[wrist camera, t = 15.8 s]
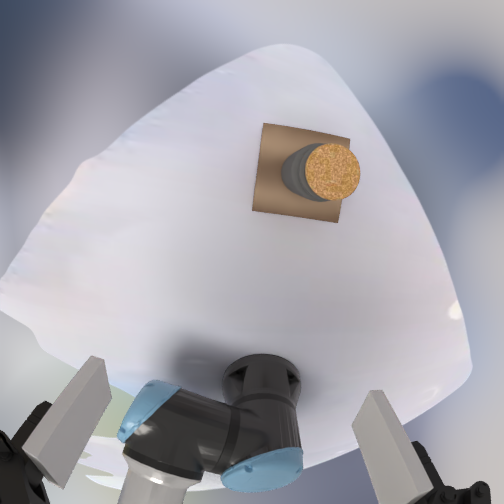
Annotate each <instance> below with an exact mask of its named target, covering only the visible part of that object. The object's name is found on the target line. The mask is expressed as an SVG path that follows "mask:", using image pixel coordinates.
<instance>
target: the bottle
mask: <svg viewBox="0 0 504 504" xmlns="http://www.w3.org/2000/svg"><path fill="white" fill-rule="evenodd" d="M281 177H282V180H283V183H284V184H285V186H286V187H287V188H288V189H289V190H290V191H291V192H293V193H295V194H297V195H299V196H302V197H304V198H306V199H309V200H312V201H317V202H325V201H332V200H335V201H336V200H341V199H344V198H346V197H348V196H349V195H351V194H352V193H353V192H354V190H355V189H356V187H357V185H358V183H359V179H360V167H359V163H358V161H357V159H356V157H355V156H354V154H353V153H352V152H351V151H350V150H349V149H347V148H346V147H344V146H342V145H339V144H333V143H329V144H323V143H314V144H310V145H307V146H305V147H303V148H301V149H300V150H298V151H296V152H295V153H293V154H291V155H290V156H289V157H288V158H287V159H286V160H285V161H284V163H283V165H282V168H281Z"/></svg>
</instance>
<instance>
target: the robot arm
mask: <svg viewBox="0 0 504 504" xmlns="http://www.w3.org/2000/svg"><path fill="white" fill-rule="evenodd" d="M300 391H301V381H300V376H299V373H298V371H297V369H296V368H295V366H294V365H293V364H291V363H290V362H289V361H287V360H285V359H283V358H281V357H278V356H274V355H268V354H258V355H251V356H247V357H244V358H241V359H239V360H237V361H236V362H234V363H233V364H231V365H230V366H229V367H228V369H227V370H226V372H225V374H224V377H223V383H222V392H223V396H224V398H225V401H226V404H225V403H222V402H219V401H215V400H212V399H209V398H206V397H204V396H201V395H198V394H195V393H193V392H190V391H187V390H185V389H182V387H181V386H174V385H171V384H168V383H166V382H163V381H160V380H152V381H149V382H148V383H147V384H145V386H144V387H143V388H142V389H141V391H140V392H139V393H138V395H137V396H136V398H135V399H134V401H133V403H132V404H131V406H130V408H129V410H128V411H127V413H126V415H125V417H124V419H123V421H122V424H121V427H120V429H119V431H118V433H117V438H118V439H119V440H120V441H121V442H122V443H125V447H124V450H123V453H122V455H123V457H124V458H125V460H126V462H127V464H128V467H129V469H128V472H127V475H126V478H125V481H124V484H123V487H122V490H121V494H120V497H119V500H118V503H117V504H183V500H184V497H185V494H186V491H187V488H189V487H190V486H192V485H195V484H197V483H200V482H201V480H202V476H203V473H204V471H208V472H211V473H215V474H220V475H221V478H220V479H221V481H222V483H223V485H224V486H225V487H227V488H229V489H231V490H234V491H239V492H263V491H270V490H273V489H278V488H281V487H283V486H286V485H288V484H290V483H292V482H293V481H294V480H296V479H297V478H298V477H299V476H300V474H301V473H302V470H303V450H302V448H301V441H300V435H299V428H298V422H297V415H296V405H297V402H298V398H299V395H300ZM111 399H112V396H111V391H110V387H109V382H108V377H107V372H106V367H105V362H104V359H101V358H98V357H95V356H90V358H89V359H88V360H87V361H86V362H85V364H84V365H83V366H82V367H81V369H80V370H79V371H78V372H77V374H76V375H75V376H74V377H73V379H72V380H71V381H70V382H69V384H68V385H67V386H66V388H65V389H64V390H63V392H62V393H61V394H60V395H59V397H58V398H57V399H56V401H55V402H54V403H53V404H51V403H49V402H47V401H45V402H43V403H41V404H39V405H37V406H36V408H35V409H34V410H33V412H32V413H31V415H29V417H28V418H27V420H25V422H24V423H23V424H22V426H21V427H20V428H19V430H18V431H17V433H16V434H15V435H14V437H13V438H12V440H10V439H9V438H8V436H7V435H6V434H5V433H4V432H3V431H1V430H0V504H50V502H49V499H48V496H47V493H46V490H45V487H44V484H43V482H42V478H43V476H44V477H45V478H46V479H47V480H48V481H49V482H50V483H52V484H54V485H56V486H57V487H59V488H61V489H64V487H65V485H66V483H67V481H68V479H69V477H70V475H71V473H72V471H73V469H74V467H75V465H76V463H77V461H78V459H79V458H80V455H81V454H82V452H83V450H84V448H85V446H86V444H87V442H88V440H89V439H90V437H91V435H92V433H93V431H94V429H95V427H96V425H97V424H98V422H99V420H100V418H101V416H102V415H103V413H104V411H105V409H106V407H107V406H108V404H109V402H110V401H111ZM352 428H353V431H354V434H355V436H356V439H357V442H358V445H359V447H360V450H361V453H362V456H363V458H364V461H365V464H366V467H367V470H368V473H369V476H370V479H371V481H372V484H373V487H374V490H375V493H376V496H377V499H378V502H379V504H491V496H490V488H489V486H488V484H487V483H485V482H483V481H478V482H476V483H475V484H473V485H472V486H471V487H470V488H466V489H459V490H456V489H455V488H454V487H451V486H445V485H444V484H443V482H442V480H441V478H440V476H439V474H438V472H437V471H436V469H435V467H434V465H433V463H431V459H430V457H429V456H428V454H427V452H426V450H425V448H424V447H423V446H422V445H421V444H420V443H419V442H418V441H414V442H410V440H409V438H408V436H407V434H406V432H405V430H404V428H403V427H402V425H401V423H400V421H399V419H398V417H397V416H396V414H395V412H394V410H393V408H392V406H391V405H390V403H389V401H388V399H387V398H386V396H385V394H384V392H383V390H372V391H369V393H368V395H367V397H366V399H365V401H364V403H363V405H362V407H361V409H360V411H359V412H358V414H357V416H356V418H355V420H354V421H353V423H352Z"/></svg>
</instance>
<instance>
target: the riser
mask: <svg viewBox="0 0 504 504" xmlns="http://www.w3.org/2000/svg"><path fill="white" fill-rule="evenodd" d="M314 143H323V144H329V143H333V144H339V145H342V146H344V147H346V148H347V149H349V145H350V139H348V138H344V137H340V136H335V135H331V134H326V133H321V132H316V131H311V130H306V129H300V128H294V127H288V126H282V125H275V124H268V123H264V124H263V130H262V138H261V145H260V153H259V160H258V168H257V176H256V183H255V191H254V199H253V207H252V211H258V212H266V213H274V214H281V215H288V216H295V217H302V218H309V219H315V220H322V221H328V222H334V223H338V220H339V214H340V208H341V202H342V199H341V200H336V201H335V200H332V201H325V202H317V201H312V200H309V199H306V198H304V197H302V196H299V195H297V194H295V193H293V192H291V191H290V190H289V189H288V188H287V187H286V186H285V184H284V183H283V180H282V177H281V168H282V165H283V163H284V161H285V160H286V159H287V158H288V157H289V156H290V155H291V154H293V153H295V152H296V151H298V150H300V149H301V148H303V147H305V146H307V145H310V144H314Z"/></svg>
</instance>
